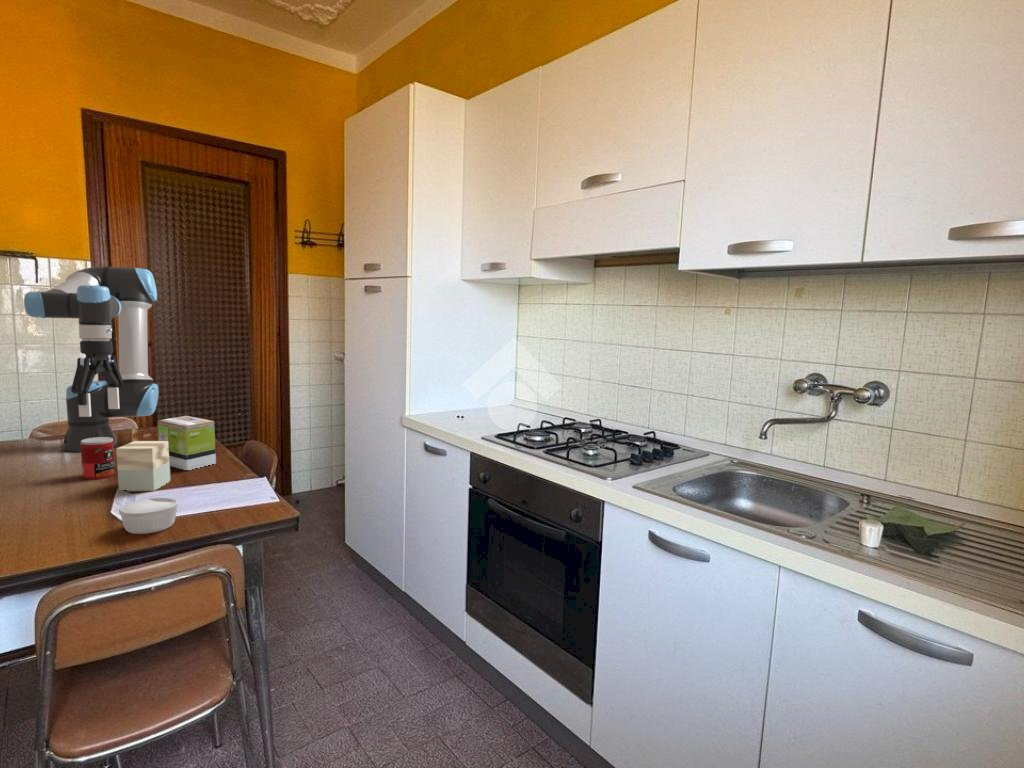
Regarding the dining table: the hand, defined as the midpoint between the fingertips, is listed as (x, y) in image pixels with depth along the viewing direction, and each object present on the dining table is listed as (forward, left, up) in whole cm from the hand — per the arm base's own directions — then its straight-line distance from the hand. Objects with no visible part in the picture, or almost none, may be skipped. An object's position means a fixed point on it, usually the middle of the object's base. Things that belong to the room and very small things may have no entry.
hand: (100, 412), depth 161 cm
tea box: (-12, +18, -19) cm, 29 cm away
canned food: (+1, -1, -19) cm, 19 cm away
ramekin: (+42, +34, -19) cm, 57 cm away
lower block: (+10, +17, -19) cm, 28 cm away
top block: (+10, +17, -13) cm, 24 cm away
